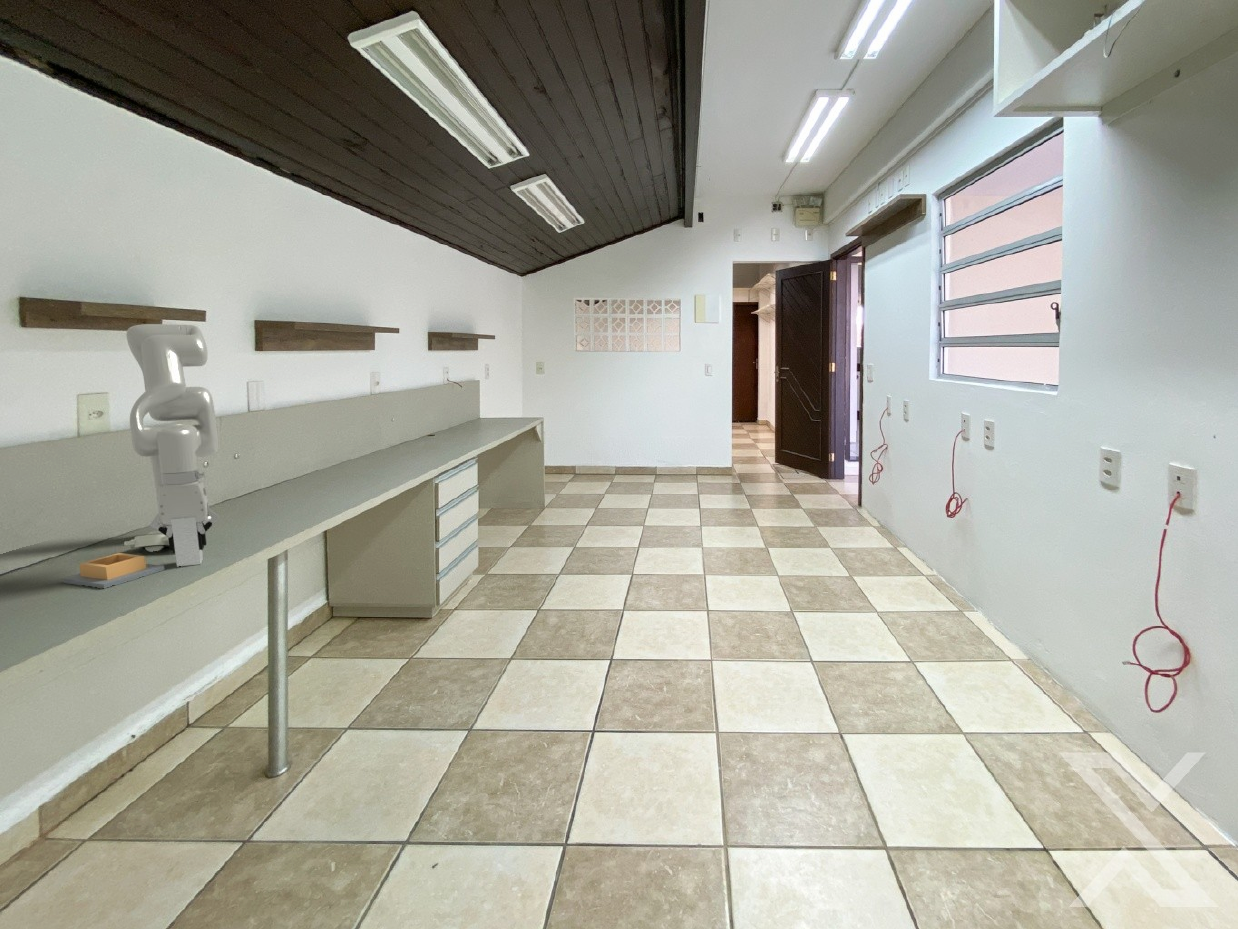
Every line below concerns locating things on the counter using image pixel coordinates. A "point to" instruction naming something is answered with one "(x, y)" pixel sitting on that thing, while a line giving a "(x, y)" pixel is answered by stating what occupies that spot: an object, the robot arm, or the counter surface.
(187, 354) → the robot arm
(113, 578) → the collar plate
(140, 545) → the butterfly valve
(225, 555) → the counter surface
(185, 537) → the block
